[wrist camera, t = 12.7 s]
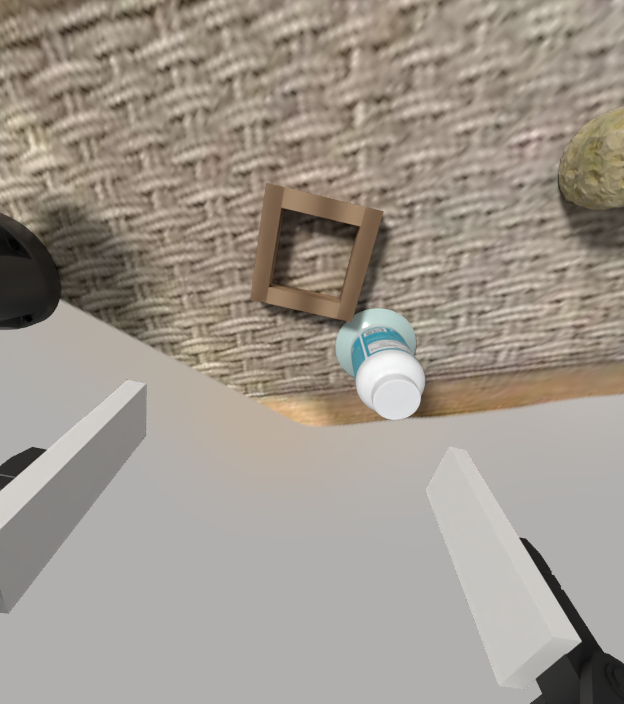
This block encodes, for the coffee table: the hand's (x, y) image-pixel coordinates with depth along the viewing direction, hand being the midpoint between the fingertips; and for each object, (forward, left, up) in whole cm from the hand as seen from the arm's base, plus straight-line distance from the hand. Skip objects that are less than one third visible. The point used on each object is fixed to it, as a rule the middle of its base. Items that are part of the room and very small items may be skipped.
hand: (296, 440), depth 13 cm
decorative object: (+26, +20, -30) cm, 45 cm away
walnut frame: (-2, +4, -29) cm, 30 cm away
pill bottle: (+10, -6, -29) cm, 31 cm away
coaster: (+9, -6, -29) cm, 31 cm away
